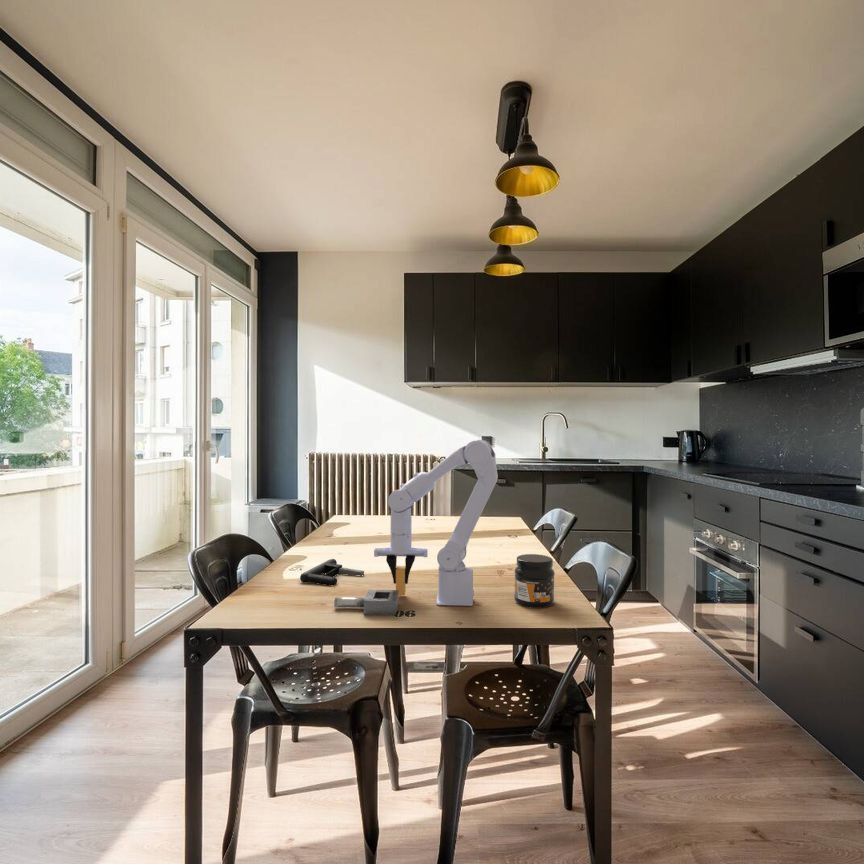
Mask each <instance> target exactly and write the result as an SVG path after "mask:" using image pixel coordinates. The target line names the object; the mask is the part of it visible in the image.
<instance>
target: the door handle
mask: <svg viewBox="0 0 864 864" xmlns="http://www.w3.org/2000/svg"><path fill="white" fill-rule="evenodd" d="M325 573H326V574H325ZM337 574H338V575H343V574H348V575H347V576H352V575H360V576H359V577H363V576H364V575H365V570H360V569H353V568H347V567H343V564H339V563H337V560H336V559H335V558H330V559H327V560H326V561H324V562H322V563H320V564H318V565H316V566H314V567H312V568H310V569H308V570H306V571H305V572H303V573H300V578H299V579H300V582H302V583H303V582H307V583H310V582H311V583H312V584H316V583H319V584H318V585H322V584H326V585H325V586H329V585H333V586H335V585H334V584H336V585H337V584H338V579H337V578H336V576H338V575H337ZM335 575H336V576H335ZM362 575H363V576H362ZM333 576H335V577H333ZM311 583H310V584H311Z"/></svg>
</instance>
